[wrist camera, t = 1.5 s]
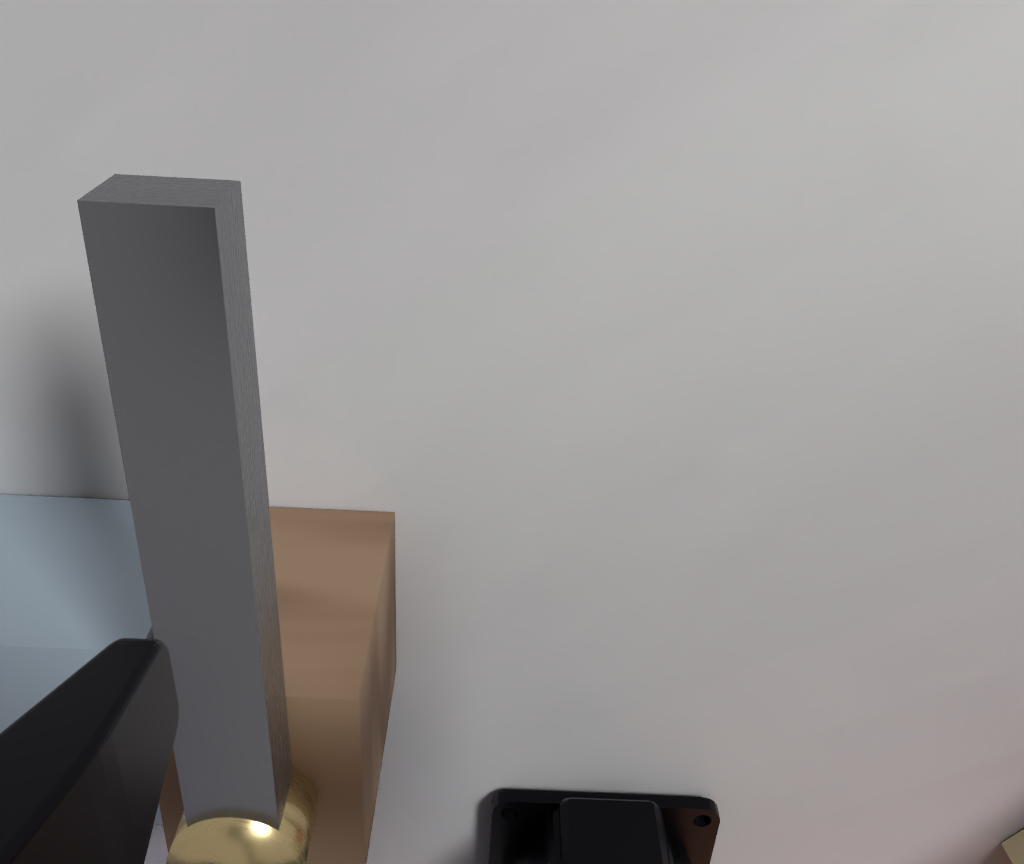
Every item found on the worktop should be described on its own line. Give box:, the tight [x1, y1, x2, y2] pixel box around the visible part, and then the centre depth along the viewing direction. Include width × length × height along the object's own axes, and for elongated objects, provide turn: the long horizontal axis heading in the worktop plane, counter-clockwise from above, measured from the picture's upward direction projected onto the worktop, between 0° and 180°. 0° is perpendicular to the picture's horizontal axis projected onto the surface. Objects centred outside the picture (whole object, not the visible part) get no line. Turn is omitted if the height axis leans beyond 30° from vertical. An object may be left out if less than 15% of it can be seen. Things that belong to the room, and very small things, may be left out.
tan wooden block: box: [159, 507, 396, 864], centre depth 21 cm, size 5×4×6 cm
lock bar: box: [77, 174, 319, 864], centre depth 15 cm, size 13×2×2 cm, turn 177°
